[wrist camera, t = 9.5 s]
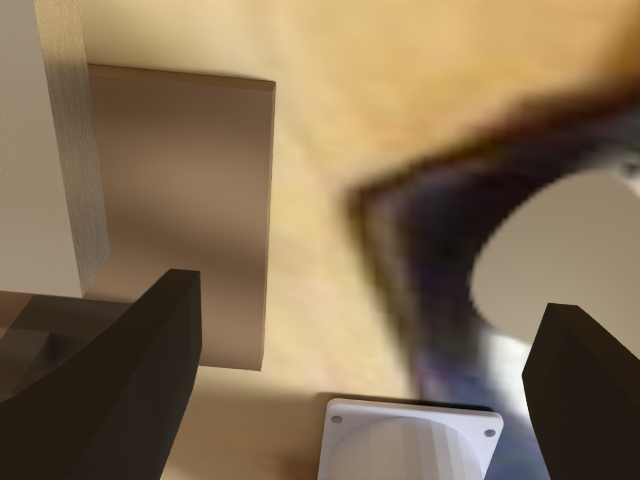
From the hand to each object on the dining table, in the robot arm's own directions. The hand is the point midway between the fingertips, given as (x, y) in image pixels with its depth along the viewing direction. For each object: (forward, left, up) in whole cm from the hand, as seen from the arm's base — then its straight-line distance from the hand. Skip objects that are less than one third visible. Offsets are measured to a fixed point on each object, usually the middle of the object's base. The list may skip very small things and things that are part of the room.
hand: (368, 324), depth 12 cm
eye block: (-5, +9, -9) cm, 14 cm away
